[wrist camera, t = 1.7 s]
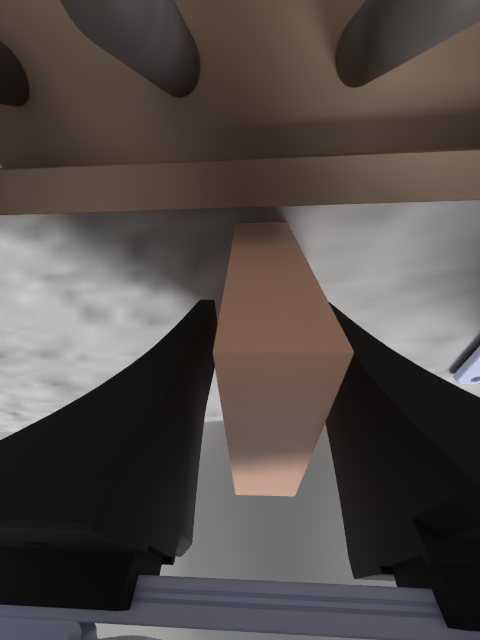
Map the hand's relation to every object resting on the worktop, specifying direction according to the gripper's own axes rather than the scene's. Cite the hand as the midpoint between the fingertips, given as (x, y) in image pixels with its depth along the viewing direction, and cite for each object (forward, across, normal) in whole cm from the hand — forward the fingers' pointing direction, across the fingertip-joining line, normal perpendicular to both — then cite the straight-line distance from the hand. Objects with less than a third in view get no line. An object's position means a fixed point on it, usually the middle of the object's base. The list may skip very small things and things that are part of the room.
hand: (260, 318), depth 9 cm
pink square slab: (+2, 0, 0) cm, 2 cm away
